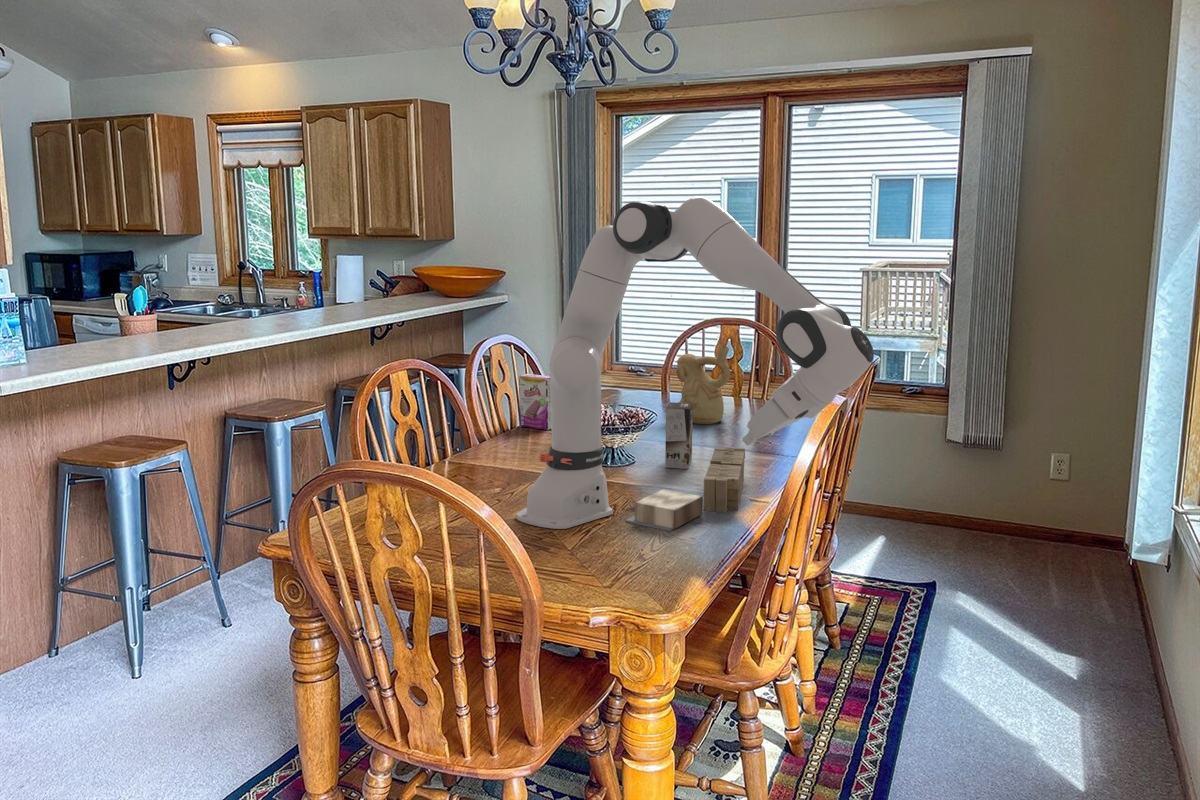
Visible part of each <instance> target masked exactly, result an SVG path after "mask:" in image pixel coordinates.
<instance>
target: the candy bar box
mask: <svg viewBox="0 0 1200 800" xmlns="http://www.w3.org/2000/svg"><path fill="white" fill-rule="evenodd" d="M529 388H530V391H529ZM518 395H519V406H518V407H519V426H520V427H524V428H529V429H537V430H542V429H543V431H550V430H549V429H551V430H552V426H551V396H550V375H549V376H548V375H542V374H541V375H540V374H533V373H525V374H520V375H518Z"/></svg>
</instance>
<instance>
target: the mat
mask: <svg viewBox="0 0 1200 800" xmlns="http://www.w3.org/2000/svg"><path fill="white" fill-rule="evenodd" d="M625 523H630V524H633V525H638V526H644V527H647V528H653V529H657V530H663V531H667V532H671V531H673V530H674V528H669V527H665V526H660V525H655V524H650V523H646V522H641V521H636V520H635V515H634V516H631V517H629V518H626V519H625Z"/></svg>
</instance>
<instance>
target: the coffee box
mask: <svg viewBox="0 0 1200 800" xmlns="http://www.w3.org/2000/svg"><path fill="white" fill-rule="evenodd" d="M692 412H693V403H688V402H680V401H678V402H673V401H671V402H669V403H668V405H667V406H666V408H665V447H664V448H665V451H664V452H665V454H664V455H665V456H664V458H665V460H664V463H665V464H664V466H665V469H666V468H667V469H684V470H688V469H689V467H690V465H691V463H692V461H693V423H692Z"/></svg>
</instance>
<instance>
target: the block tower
mask: <svg viewBox="0 0 1200 800" xmlns="http://www.w3.org/2000/svg"><path fill="white" fill-rule="evenodd" d="M713 450H714V451H713V454H712V456H711V459H710V462H709V463H710V464H709V466H708V468H707V471H706V474H705V476H704V478H703V511H704V510H713V511H712V512H721V511H727V512H728V511H739V509H738V508H739V507H740V506H739V505H740V503H741V499H742V493H743V490H742V489H744V483H743V482H744V480H745V459H746V448H745V447H720V446H717V447H714V449H713ZM727 509H728V510H727ZM714 510H716V511H714Z"/></svg>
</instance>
